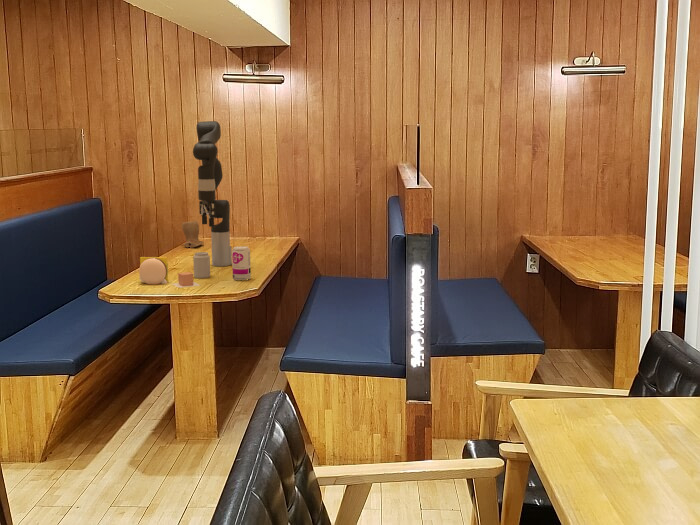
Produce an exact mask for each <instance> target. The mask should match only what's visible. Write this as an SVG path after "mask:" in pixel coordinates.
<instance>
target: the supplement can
mask: <svg viewBox="0 0 700 525" xmlns="http://www.w3.org/2000/svg"><path fill="white" fill-rule="evenodd" d="M251 269H252V268H251V250H250V247H249V246H245V245H244V246H240V245H239V246H234V247H233V248H232V279H233V280H234V281H236V280H246V281H248V280H247V279H249V280H250V279H251V277H252V275H251V274H252V273H251Z"/></svg>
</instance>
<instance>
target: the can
mask: <svg viewBox="0 0 700 525" xmlns="http://www.w3.org/2000/svg"><path fill="white" fill-rule="evenodd" d="M192 258H193V278H195V279H206V278H207V279H209V278H210V277H211V257H210V254H209V252H208V251H207V252H206V251H197V252H194V255H193V256H192Z"/></svg>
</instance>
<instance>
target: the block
mask: <svg viewBox="0 0 700 525" xmlns="http://www.w3.org/2000/svg"><path fill="white" fill-rule="evenodd" d="M177 275H178V283H179V285H181V286H189V285H194V284H193V282H194V273H193V272H190V271H189V272H188V271H187V272H178V274H177Z"/></svg>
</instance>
